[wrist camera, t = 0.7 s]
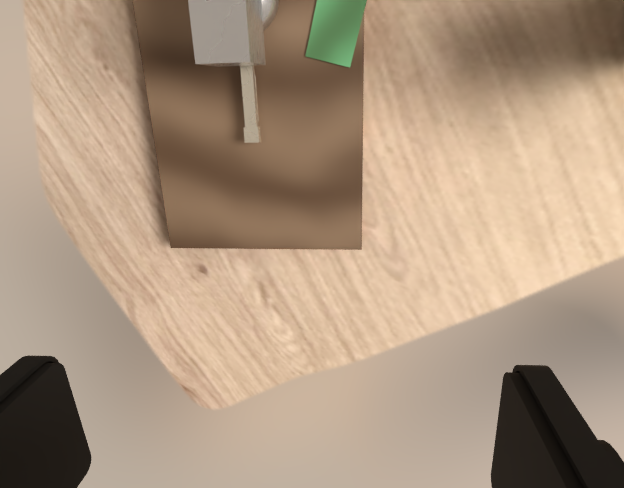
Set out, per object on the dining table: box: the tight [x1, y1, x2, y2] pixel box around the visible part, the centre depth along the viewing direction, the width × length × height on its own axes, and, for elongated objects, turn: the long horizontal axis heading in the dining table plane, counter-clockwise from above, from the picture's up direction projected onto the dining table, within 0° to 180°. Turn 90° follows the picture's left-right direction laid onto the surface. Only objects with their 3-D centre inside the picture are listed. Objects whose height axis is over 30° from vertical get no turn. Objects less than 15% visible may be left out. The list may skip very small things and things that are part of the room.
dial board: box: [133, 0, 367, 250], centre depth 29 cm, size 26×15×2 cm, turn 2°
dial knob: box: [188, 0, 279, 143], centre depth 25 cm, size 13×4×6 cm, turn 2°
